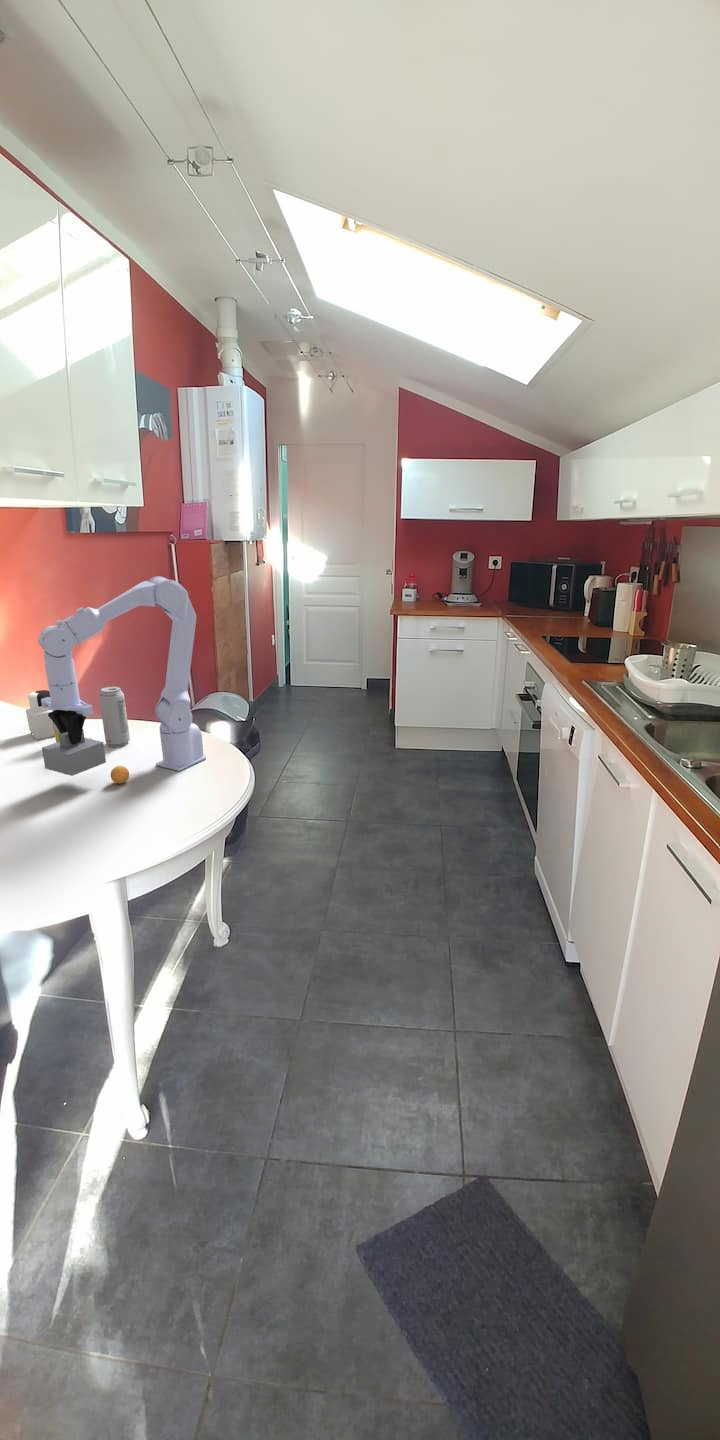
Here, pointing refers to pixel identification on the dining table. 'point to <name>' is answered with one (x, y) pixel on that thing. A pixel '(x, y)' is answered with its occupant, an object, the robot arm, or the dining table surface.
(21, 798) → the dining table surface
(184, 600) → the robot arm
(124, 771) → the ball
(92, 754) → the grey stepped block
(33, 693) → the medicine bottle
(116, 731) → the energy drink can
